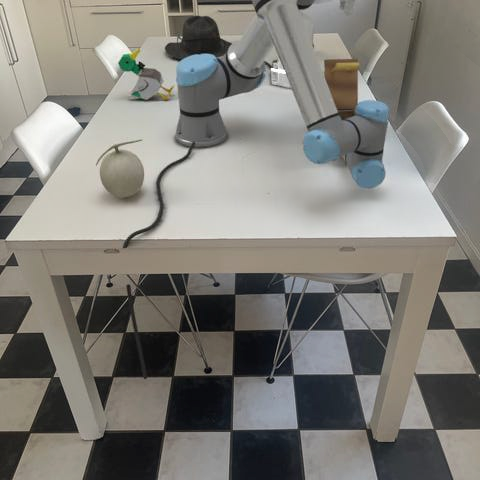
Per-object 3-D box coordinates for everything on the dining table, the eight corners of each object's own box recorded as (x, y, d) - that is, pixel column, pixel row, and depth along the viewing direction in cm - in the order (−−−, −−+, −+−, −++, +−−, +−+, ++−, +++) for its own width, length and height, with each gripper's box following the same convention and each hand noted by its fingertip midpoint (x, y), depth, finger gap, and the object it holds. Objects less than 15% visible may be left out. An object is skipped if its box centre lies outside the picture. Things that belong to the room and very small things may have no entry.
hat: (239, 41, 247) (238, 8, 239) (231, 62, 218) (230, 27, 210) (174, 40, 250) (171, 9, 242) (157, 62, 221) (153, 26, 213)
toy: (179, 80, 179) (129, 44, 172) (154, 118, 185) (104, 85, 178) (180, 75, 184) (131, 40, 177) (155, 113, 190) (107, 81, 184)
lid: (323, 60, 145) (330, 53, 136) (356, 59, 145) (365, 52, 136) (324, 110, 147) (331, 106, 138) (356, 108, 147) (365, 105, 138)
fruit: (93, 194, 129) (82, 138, 120) (134, 179, 134) (126, 125, 126) (112, 211, 122) (101, 153, 113) (154, 195, 128) (147, 139, 119)
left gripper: (400, 134, 131) (376, 102, 149) (314, 137, 130) (301, 105, 148) (395, 160, 135) (373, 127, 153) (312, 164, 134) (299, 129, 153)
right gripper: (374, -42, 120) (366, 20, 128) (354, -53, 137) (348, 3, 145) (347, -41, 120) (341, 21, 128) (330, -52, 137) (326, 4, 145)
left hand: (337, 116), depth 151 cm, fingers closed on chest, 9 cm apart
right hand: (345, 12), depth 137 cm, fingers open, 5 cm apart
